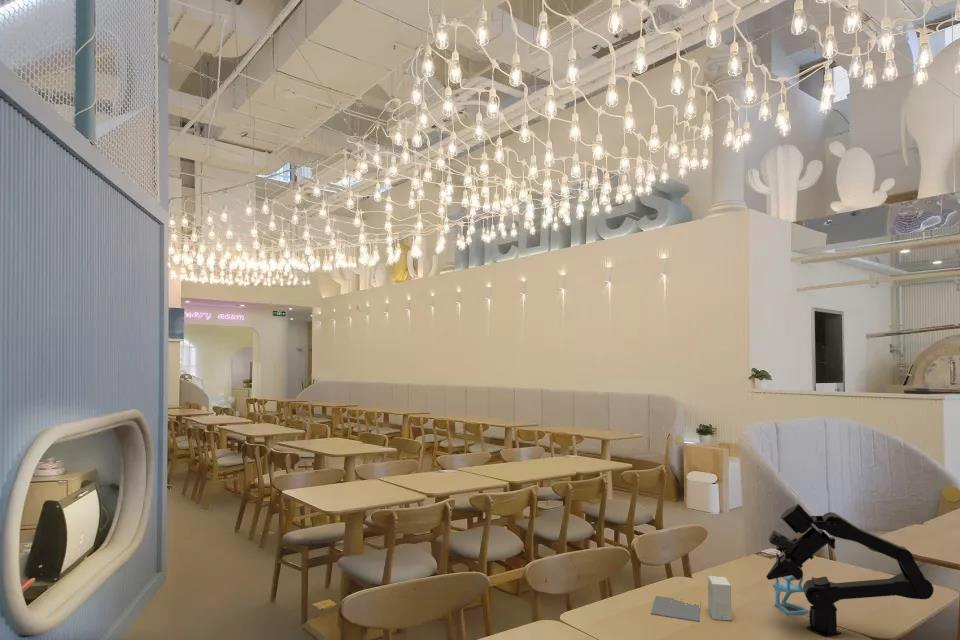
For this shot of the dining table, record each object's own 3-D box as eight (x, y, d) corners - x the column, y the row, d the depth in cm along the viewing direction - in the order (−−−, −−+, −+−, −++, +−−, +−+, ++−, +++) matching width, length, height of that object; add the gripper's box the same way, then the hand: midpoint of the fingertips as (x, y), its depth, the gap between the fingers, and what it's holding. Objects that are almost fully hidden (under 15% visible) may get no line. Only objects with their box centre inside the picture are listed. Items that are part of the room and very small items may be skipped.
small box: (731, 621, 187) (731, 585, 187) (712, 619, 188) (711, 583, 189) (726, 611, 194) (726, 576, 195) (707, 609, 196) (707, 575, 196)
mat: (700, 603, 200) (700, 602, 201) (699, 621, 186) (699, 620, 186) (655, 596, 206) (655, 595, 206) (651, 614, 191) (651, 613, 191)
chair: (788, 603, 202) (787, 565, 203) (808, 613, 195) (808, 573, 195) (769, 605, 200) (768, 567, 201) (789, 615, 192) (789, 575, 193)
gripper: (783, 516, 195) (745, 548, 198) (789, 530, 178) (748, 565, 181) (811, 545, 192) (772, 577, 195) (821, 562, 174) (778, 597, 178)
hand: (767, 578), depth 187 cm, fingers closed
